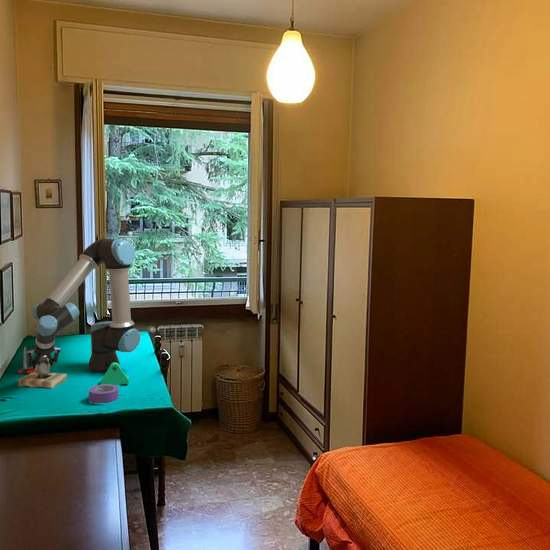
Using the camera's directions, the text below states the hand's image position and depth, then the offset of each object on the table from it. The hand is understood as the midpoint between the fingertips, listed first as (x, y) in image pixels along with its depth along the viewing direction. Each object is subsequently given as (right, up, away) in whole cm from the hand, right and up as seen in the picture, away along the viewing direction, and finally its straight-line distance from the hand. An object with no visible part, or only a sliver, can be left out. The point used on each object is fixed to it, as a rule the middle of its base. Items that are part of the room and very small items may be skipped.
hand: (41, 369), depth 248 cm
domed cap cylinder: (+2, -4, -3) cm, 5 cm away
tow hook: (-12, -4, +15) cm, 19 cm away
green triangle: (+34, -6, -2) cm, 35 cm away
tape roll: (+36, -9, -23) cm, 43 cm away
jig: (+2, -6, -3) cm, 6 cm away
